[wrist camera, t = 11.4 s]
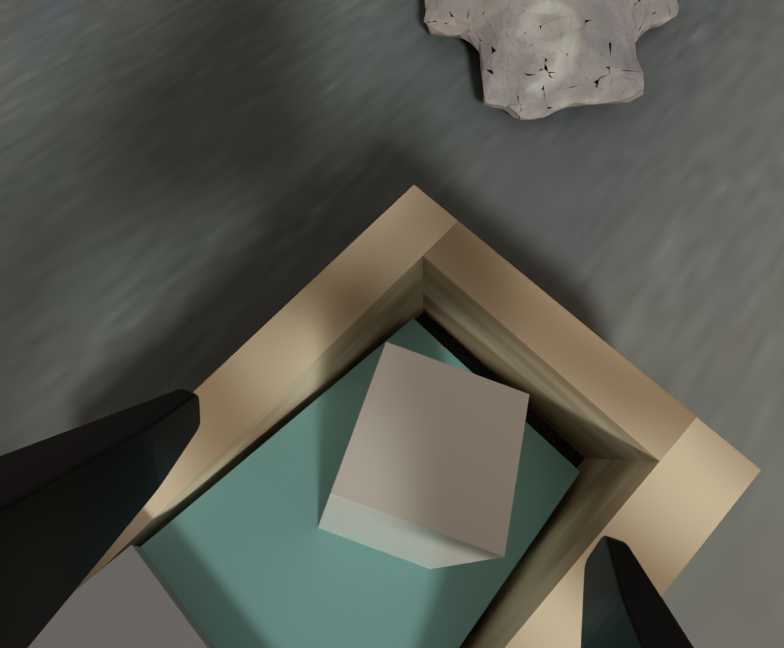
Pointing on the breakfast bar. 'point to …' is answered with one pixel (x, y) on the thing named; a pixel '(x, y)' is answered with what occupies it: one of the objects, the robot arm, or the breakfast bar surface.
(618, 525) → the trapdoor box
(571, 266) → the breakfast bar surface
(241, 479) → the trapdoor
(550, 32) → the stone
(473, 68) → the breakfast bar surface
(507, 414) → the stone pillar
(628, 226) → the breakfast bar surface
